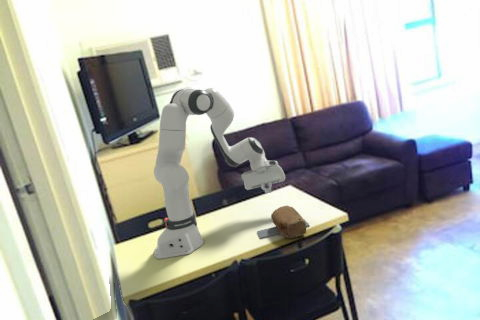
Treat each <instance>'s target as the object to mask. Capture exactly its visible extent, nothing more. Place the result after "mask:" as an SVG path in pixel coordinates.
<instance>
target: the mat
mask: <svg viewBox="0 0 480 320" xmlns="http://www.w3.org/2000/svg"><path fill="white" fill-rule="evenodd" d="M304 221H305V223H306V228H308V227H310V224H309V223H308V222H307V221H306V220H305V219H304ZM257 235H258V236H259V238H260V239H261V240H263V239H266V238H269V237H274V236H277V235H282V234H281V233H280V231H279V230H278V228H277V227H276V226H272V227H268V228H265V229H260V230H257Z"/></svg>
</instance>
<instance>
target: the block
mask: <svg viewBox="0 0 480 320" xmlns="http://www.w3.org/2000/svg"><path fill="white" fill-rule="evenodd" d="M270 217H271V220H272V223H273V224H274V227H277V228H278V230H279V231H280V233H281V234H280V235H282V236H283V237H285V238H288V239H295V238H297V237H302V236H304V235H305V234H307V227H306V223H305V221H306V220H305V219H304V217H302V215H301V214H300V213H299V212H298V211H297V210H296V209H295V208H294V207H293V206H290V205H283V206H280V207H278V208H276V209H275V210H273V211H272V213H271V215H270ZM304 220H305V221H304Z"/></svg>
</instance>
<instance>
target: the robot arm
mask: <svg viewBox="0 0 480 320" xmlns="http://www.w3.org/2000/svg"><path fill="white" fill-rule="evenodd" d="M170 99H171V100H170V102H169V103H168V104H166V105H164V106H163V107H162V109H161V116H160V121H159V134H158V136H159V138H158V149H157V153H156V154H157V155H156V160H155V166H154V168H153V174H154V177H155V180H156V181H157V182H158V183H159V184H161V185H162V186H161V187H162V189H163V192H164V193H163V194H164V195H163V196H164V206H165V210H166V214H167V217H165V218H164V219H163V221H164V225H165V229H164V230H163V231H162V232H161V233H160V235H159V236H158V238H157V241H156V242H157V246H156V247H155V248H154V251H153V255H154V258H155V259H156V260H162V259H168V258H174V257H179V256H185V255H189V254H192V253H193V252H194V251H195V250H197V249H199V248H200V247H202V246H203V245H204V243H205V240H204V238H203V237H202V235H201V233H200V229H199V228H198V222H197V218H196V215H195V212H194V210H193V207H192V203H191V199H190V198H191V197H190V187H189V185H190V184H189V180H190V175H189V173H188V171H187V169H186V168H185V167H184V166H183V165H182V164H181V161H182V158H183V153H184V152H185V149H186V133H187V120H188V117H189V116H202V115H204V114H206V115H207V116H208V118H209V120H210V123H211V124H210V133H211V135H212V137H213V139H214V140H215V143H216V144H217V146H218V148H219V150H220V152H221V154H222V156H223V158H224V161H225V163H226V164H227V165H228V166H230V167H232V168H233V167H234V168H236V167H237V168H238V166H240V165H241V164H243V163H245V162H246V161H249V163H250V164H249V166H250V168H251V170H248V171H244V172H243V173H242V174H241V175H240V177H241V180H242V181H243V183H244V189H246V190H247V191H249V190H250V191H251V190H253V189H257V188H261V190H263V191H264V193H265V194H271V193H272V185H273V184H277V183H281V182H285V180H286V174H285V173H284V170H283V168H282V167H281V166H280V165H279V162H278V161H277V160H268V159H267V158H266V153H265V150H264V148H263V145H262V143H261V141H259V139H257V138H255V137H252V136H249V137H246V138H244V139H243V140H240V141H239V142H237V143H235V144H234V145H231V146H230V145H229V144H228V142H227V140H226V138H225V136H224V134H225V132H226V130H227V129H228V128H229V127H230V126H231V124H232V123H233V121H234V118H235V117H234V116H235V111H234V109H233V108H232V106H231V104H230V103H229V102H228V100H227V99H226V98H225V97H224V96H223V94H221V93H220V92H219V91H218V90H217V89H216V88H213V87H208V88H205V89H204V90H202V89H194V88H186V89H179V90H176V91H175V92H174V93H173V94H172V96H171V98H170ZM266 186H268V187H267V188H266Z"/></svg>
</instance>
